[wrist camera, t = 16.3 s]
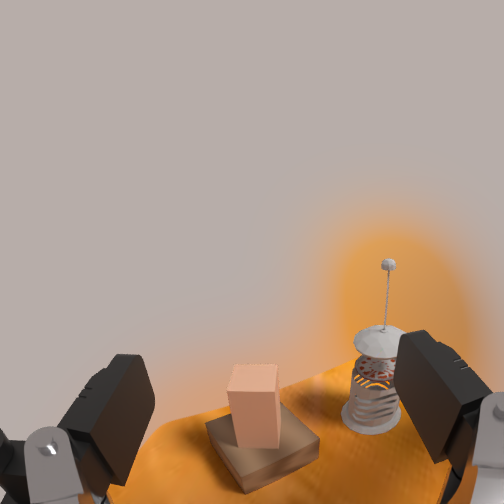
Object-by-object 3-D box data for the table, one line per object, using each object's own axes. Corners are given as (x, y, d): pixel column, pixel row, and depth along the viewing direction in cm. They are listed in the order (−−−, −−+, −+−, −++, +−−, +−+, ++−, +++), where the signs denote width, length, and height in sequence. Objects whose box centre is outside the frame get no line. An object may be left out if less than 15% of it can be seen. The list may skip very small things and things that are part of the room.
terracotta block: (281, 421, 36) (277, 364, 34) (278, 448, 32) (274, 391, 29) (244, 420, 37) (234, 364, 35) (238, 447, 32) (226, 391, 30)
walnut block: (275, 417, 43) (273, 395, 42) (317, 459, 34) (319, 438, 32) (211, 444, 38) (205, 422, 37) (245, 495, 29) (241, 477, 28)
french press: (340, 394, 46) (346, 249, 40) (406, 390, 43) (426, 246, 37) (340, 436, 37) (353, 274, 31) (416, 430, 34) (453, 269, 28)
